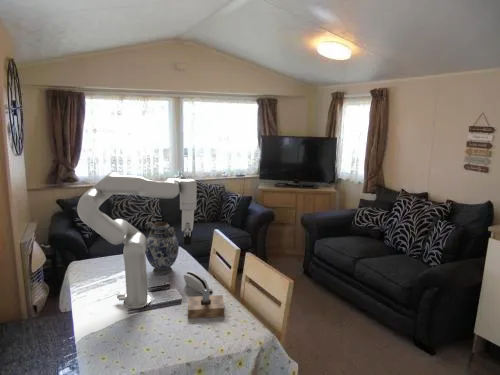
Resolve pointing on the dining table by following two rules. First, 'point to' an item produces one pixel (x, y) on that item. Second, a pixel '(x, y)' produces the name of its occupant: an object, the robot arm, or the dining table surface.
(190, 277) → the grey half-round piece
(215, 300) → the block with square hole
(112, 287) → the dining table surface
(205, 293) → the pin
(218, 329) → the dining table surface
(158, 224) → the decorative vase
